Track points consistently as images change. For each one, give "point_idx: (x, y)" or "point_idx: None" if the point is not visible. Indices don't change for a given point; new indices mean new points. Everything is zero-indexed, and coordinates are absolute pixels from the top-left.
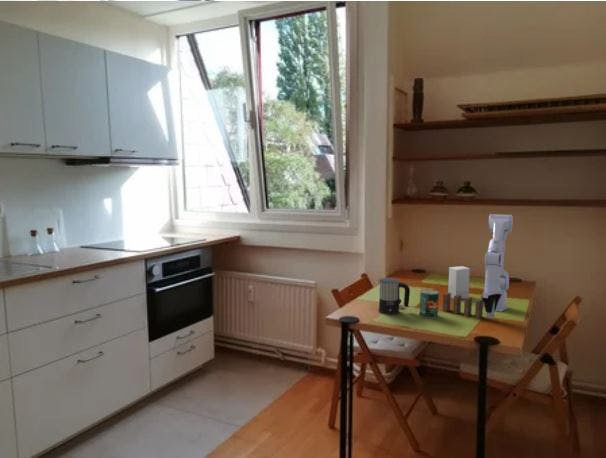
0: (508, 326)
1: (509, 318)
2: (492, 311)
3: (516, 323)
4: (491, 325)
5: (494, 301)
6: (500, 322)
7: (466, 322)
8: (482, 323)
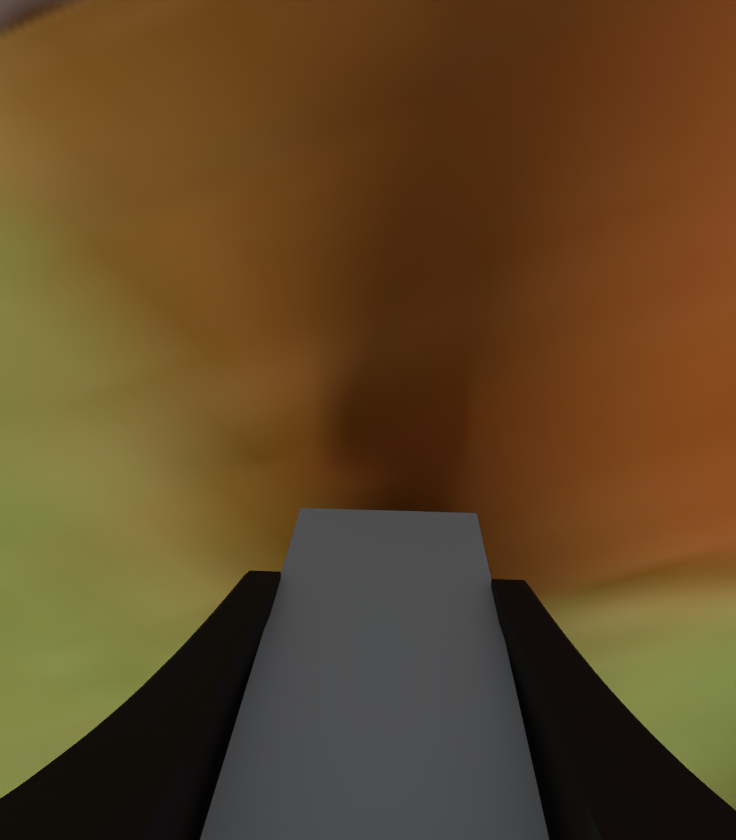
0: (528, 136)
1: (21, 308)
2: (395, 585)
3: (206, 79)
4: (663, 400)
5: (266, 800)
6: (380, 345)
7: (726, 692)
8: (638, 534)
